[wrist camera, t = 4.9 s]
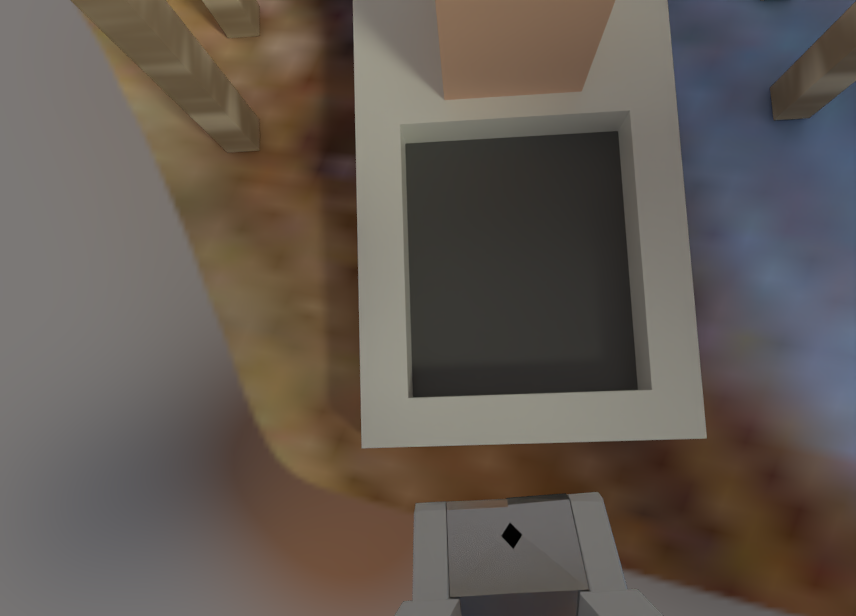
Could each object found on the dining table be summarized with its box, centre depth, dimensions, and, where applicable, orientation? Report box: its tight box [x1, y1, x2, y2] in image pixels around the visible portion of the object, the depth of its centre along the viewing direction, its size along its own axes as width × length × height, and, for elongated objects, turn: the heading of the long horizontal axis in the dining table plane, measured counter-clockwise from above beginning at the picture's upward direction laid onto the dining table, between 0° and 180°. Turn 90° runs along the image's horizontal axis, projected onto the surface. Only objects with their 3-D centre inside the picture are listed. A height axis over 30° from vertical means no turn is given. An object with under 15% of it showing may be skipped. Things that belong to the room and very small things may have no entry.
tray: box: [353, 0, 707, 448], centre depth 29 cm, size 32×14×2 cm, turn 2°
